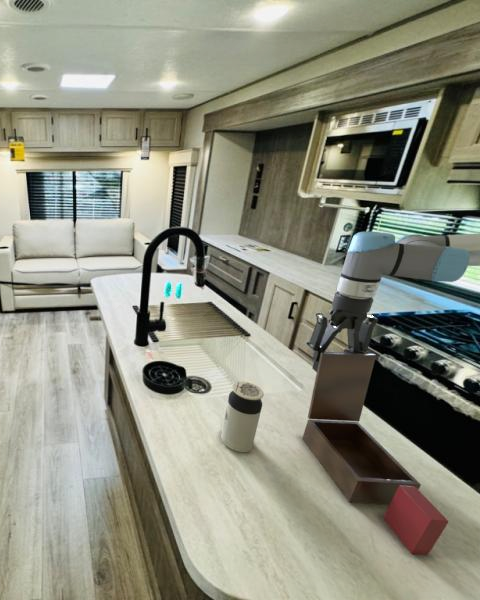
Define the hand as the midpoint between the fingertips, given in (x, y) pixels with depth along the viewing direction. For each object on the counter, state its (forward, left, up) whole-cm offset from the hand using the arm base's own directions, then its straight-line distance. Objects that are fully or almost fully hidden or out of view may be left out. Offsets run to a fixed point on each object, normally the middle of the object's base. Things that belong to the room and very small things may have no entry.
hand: (329, 371), depth 87 cm
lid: (-5, +2, -2) cm, 6 cm away
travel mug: (+3, +27, -19) cm, 33 cm away
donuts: (+105, -24, -19) cm, 109 cm away
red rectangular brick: (-29, +13, -19) cm, 37 cm away
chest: (-14, +7, -19) cm, 24 cm away
